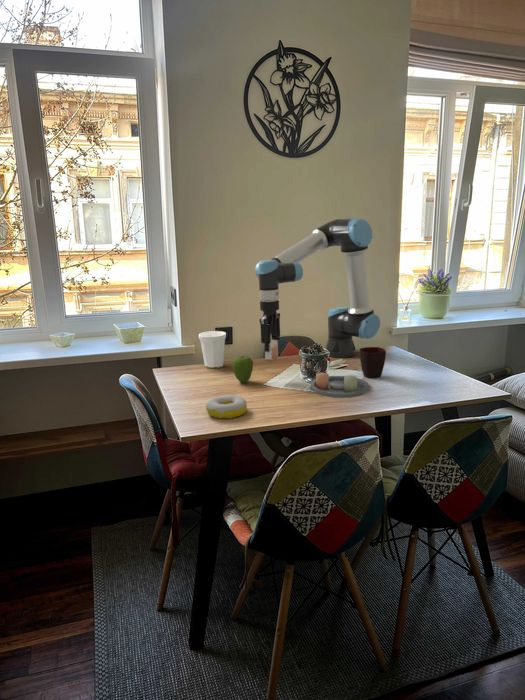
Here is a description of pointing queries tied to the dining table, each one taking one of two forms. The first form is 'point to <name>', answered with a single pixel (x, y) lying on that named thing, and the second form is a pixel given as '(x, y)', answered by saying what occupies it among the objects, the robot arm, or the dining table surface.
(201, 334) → the cup
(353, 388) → the olive bead
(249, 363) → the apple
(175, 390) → the dining table surface
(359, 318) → the robot arm
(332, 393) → the groove tray
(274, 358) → the terracotta bead
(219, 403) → the donut
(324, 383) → the terracotta bead
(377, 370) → the mug
